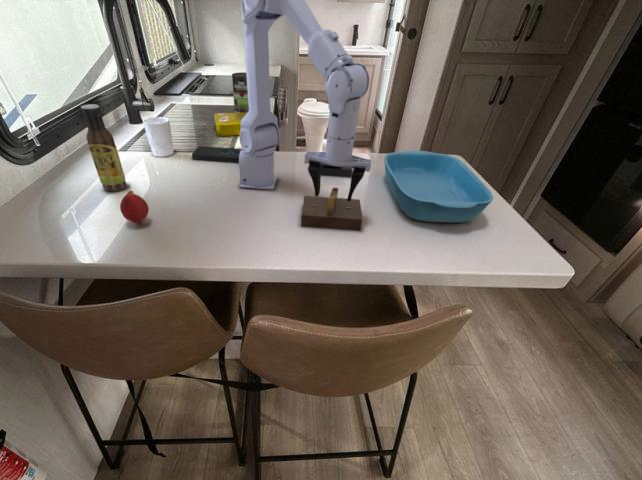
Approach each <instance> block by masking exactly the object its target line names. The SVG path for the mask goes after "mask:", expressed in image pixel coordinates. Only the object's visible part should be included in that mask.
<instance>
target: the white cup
mask: <svg viewBox="0 0 642 480" xmlns="http://www.w3.org/2000/svg"><path fill="white" fill-rule="evenodd" d="M142 124H143V127H144V130H145V134H146V137H147V141H148V144H149V146H150V149H151V153H152V155H153V156H155V157H158V158H159V157H162V158H164V157H169V156H172V155H173V154H174V152H175V151H174V143H173V135H172V129H171V123H170V119H169V118H168V117H164V116H152V117H151V116H150V117H147V118H144V119H143V120H142Z"/></svg>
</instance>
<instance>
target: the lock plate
mask: <svg viewBox="0 0 642 480" xmlns="http://www.w3.org/2000/svg"><path fill="white" fill-rule="evenodd" d="M328 198H329V196H315V195H314V196H313V195H304V196H303V203H302V208H301V209H302V210H301V219H300V220H301V221H300V227H307V228H318V229H319V228H320V229H334V230H345V231H358V232H360V231H361V227H362V223H363V214H362V205H361V199H357V198H351V201H347V199H348V198H343V197H342V198H341V197H337V203H336V205H335V208H334V210H333V212H327V207H328Z"/></svg>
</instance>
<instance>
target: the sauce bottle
mask: <svg viewBox="0 0 642 480" xmlns="http://www.w3.org/2000/svg"><path fill="white" fill-rule="evenodd" d="M80 110H81V113H82V115H83V117H84V120H85V123H86V127H87V132H86V141H87V144H88V150H89V153H90V155H91V158H92V161H93V164H94V167H95V169H96V172H97V176H98V178H99V181H100V184H101V185H102V188H103V189H104V190H105V191H109V192H119V191H122V190H124V189H126V188H127V182H126V175H125V173H124V169H123V165H122V162H121V158H120V155H119V152H118V151H119V150H118V148H117V145H116V143H115V139H114V136H113V134H112V133H111V132H110V130H109V129H108V128H106V125H105V123H104V118H103V116H102V110H101V106H100V105H98V104H95V103H92V104H90V103H89V104H83V105H81V106H80Z"/></svg>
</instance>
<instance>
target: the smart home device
mask: <svg viewBox="0 0 642 480" xmlns="http://www.w3.org/2000/svg"><path fill="white" fill-rule="evenodd" d="M241 150H244V149H243V148H233V147H220V146H219V147H218V146H205V145H203V146H202V145H199V146H197V148H196V149H195V150H194V151H193V152H192V153H191V157H192V160H196V161H208V162H209V161H210V162H224V163H236V164H239V155H240V151H241Z"/></svg>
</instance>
